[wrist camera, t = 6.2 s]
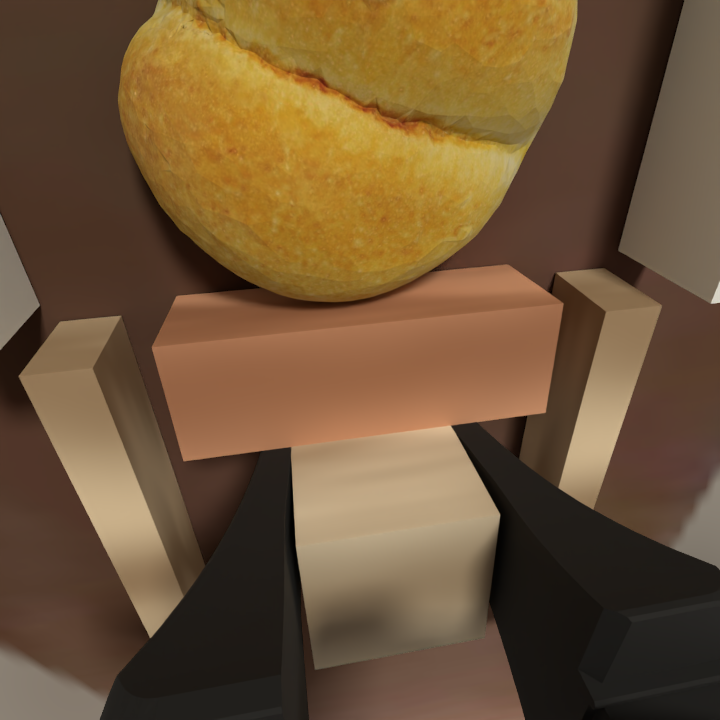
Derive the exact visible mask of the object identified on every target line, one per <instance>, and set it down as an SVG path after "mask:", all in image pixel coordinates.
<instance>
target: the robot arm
mask: <svg viewBox="0 0 720 720" xmlns="http://www.w3.org/2000/svg"><path fill="white" fill-rule="evenodd" d="M451 427H452V429H453V430H454V431H455V433H456V435H457V437H458V439H459V440H460V442H461V444H462V446H463V448H464V449H465V451H466V453H467V455H468V457H469V459H470V460H471V462H472V464H473V466H474V468H475V470H476V471H477V473H478V475H479V477H480V479H481V480H482V482H483V484H484V486H485V488H486V490H487V491H488V493H489V495H490V497H491V499H492V500H493V502H494V504H495V506H496V508H497V510H498V511H499V513H500V521H499V528H498V536H497V544H496V552H495V560H494V568H493V575H492V583H491V591H490V599H489V602H490V605H491V608H492V611H493V614H494V617H495V620H496V624H497V627H498V630H499V633H500V636H501V639H502V642H503V646H504V649H505V652H506V655H507V658H508V662H509V665H510V668H511V672H512V675H513V679H514V682H515V685H516V689H517V692H518V695H519V699H520V702H521V706H522V710H523V713H524V717H525V720H720V570H719V569H718V568H717V567H716V566H714V565H712V564H709V563H707V562H704V561H702V560H699V559H697V558H694V557H692V556H689V555H687V554H684V553H682V552H679V551H677V550H674V549H672V548H669V547H667V546H665V545H662V544H660V543H658V542H656V541H654V540H652V539H649V538H647V537H645V536H643V535H641V534H639V533H636V532H634V531H632V530H630V529H628V528H626V527H624V526H622V525H620V524H618V523H617V522H615V521H613V520H611V519H609V518H607V517H606V516H604V515H602V514H600V513H598V512H596V511H595V510H593V509H591V508H589V507H588V506H586V505H584V504H583V503H581V502H579V501H578V500H576V499H575V498H573V497H571V496H570V495H568V494H567V493H565V492H564V491H562V490H561V489H559V488H557V487H556V486H554V485H553V484H552V483H550V482H549V481H547V480H546V479H544V478H543V477H542V476H540V475H539V474H538V473H536V472H535V471H534V470H532V469H531V468H530V467H528V466H527V465H526V464H524V463H523V462H522V461H521V460H519V459H518V458H517V457H516V456H515V455H513V454H512V453H511V452H510V451H509V450H507V449H506V448H505V447H504V446H503V445H501V444H500V443H499V442H498V441H497V440H496V439H495V438H493V437H492V436H491V435H490V434H489V433H488V432H487V431H486V430H484V429H483V428H482V427H481V426H480V425H479V424H478V423H477V422H473V423H466V424H458V425H451ZM100 720H309V715H308V703H307V690H306V677H305V664H304V651H303V637H302V623H301V577H300V570H299V564H298V557H297V551H296V539H295V520H294V501H293V482H292V463H291V447H287V448H279V449H272V450H264V451H261V452H260V456H259V459H258V462H257V465H256V467H255V470H254V473H253V475H252V478H251V480H250V483H249V485H248V487H247V490H246V492H245V495H244V497H243V499H242V501H241V503H240V505H239V507H238V509H237V511H236V513H235V515H234V517H233V519H232V521H231V523H230V525H229V527H228V529H227V531H226V533H225V534H224V536H223V538H222V540H221V541H220V543H219V545H218V546H217V548H216V550H215V551H214V553H213V555H212V556H211V558H210V560H209V561H208V563H207V564H206V566H205V567H204V569H203V570H202V572H201V573H200V575H199V576H198V578H197V579H196V581H195V582H194V583H193V585H192V586H191V588H190V589H189V590H188V592H187V593H186V595H185V596H184V597H183V598H182V600H181V601H180V602H179V604H178V605H177V606H176V607H175V609H174V610H173V611H172V612H171V614H170V615H169V616H168V618H167V619H166V620H165V621H164V623H163V624H162V625H161V627H160V628H159V629H158V630H157V631H156V632H155V634H154V635H153V636H152V637H151V638H150V639H149V641H148V642H147V643H146V644H145V645H144V646H143V647H142V648H141V649H140V651H139V652H138V653H137V654H136V655H135V656H134V657H133V658H132V660H131V661H130V662H129V663H128V664H127V665H126V666H125V667H124V668H123V670H122V671H121V672H120V673H119V674H118V675H117V677H116V679H115V681H114V683H113V686H112V688H111V691H110V693H109V696H108V698H107V701H106V704H105V707H104V710H103V712H102V715H101V717H100Z"/></svg>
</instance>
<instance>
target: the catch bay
mask: <svg viewBox="0 0 720 720" xmlns="http://www.w3.org/2000/svg"><path fill="white" fill-rule="evenodd" d="M618 251H620V252H621V253H623V254H625V255H627V256H628V257H630V258H632V259H634V260H635V261H637V262H639V263H641V264H642V265H644V266H646V267H647V268H649V269H651V270H653V271H654V272H656V273H658V274H660V275H661V276H663V277H665V278H667V279H668V280H670V281H672V282H674V283H675V284H677V285H679V286H681V287H682V288H684V289H686V290H688V291H689V292H691V293H693V294H695V295H696V296H698V297H700V298H702V299H703V300H705V301H707V302H709V303H710V304H712V303H720V0H684V4H683V8H682V11H681V15H680V19H679V23H678V27H677V30H676V34H675V38H674V42H673V45H672V49H671V53H670V57H669V60H668V64H667V68H666V72H665V76H664V79H663V83H662V87H661V91H660V94H659V98H658V102H657V106H656V109H655V113H654V117H653V121H652V124H651V128H650V132H649V136H648V140H647V143H646V147H645V151H644V155H643V158H642V162H641V166H640V170H639V173H638V177H637V181H636V185H635V189H634V192H633V196H632V200H631V204H630V207H629V211H628V215H627V219H626V222H625V226H624V230H623V234H622V238H621V241H620V245H619V249H618ZM39 306H40V304H39V302H38V300H37V297H36V295H35V293H34V290H33V288H32V286H31V283H30V281H29V279H28V276H27V274H26V272H25V270H24V267H23V265H22V263H21V260H20V258H19V256H18V253H17V251H16V249H15V246H14V244H13V242H12V239H11V237H10V235H9V233H8V230H7V228H6V226H5V223H4V221H3V219H2V216H1V214H0V350H1V349H2V348H3V346H4V345H5V344H6V343H7V342H8V341H9V340H10V339H11V337H12V336H13V335H14V334H15V333H16V332H17V331H18V330H19V328H20V327H21V326H22V325H23V324H24V323H25V322H26V320H27V319H28V318H29V317H30V316H31V315H32V314H33V313H34V311H35V310H36V309H37V308H38V307H39Z"/></svg>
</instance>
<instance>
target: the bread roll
mask: <svg viewBox="0 0 720 720" xmlns="http://www.w3.org/2000/svg"><path fill="white" fill-rule="evenodd" d="M576 22H577V0H158V3H157V6H156V9H155V13H154V15H153V16H152V17H151V18H150V19H149V20H148V21H147V22H146V23H145V24H143V25H142V26H141V27H140V29H139V30H138V31H137V33H136V34H135V36H134V37H133V39H132V40H131V42H130V44H129V46H128V49H127V51H126V53H125V56H124V59H123V63H122V67H121V78H120V86H119V93H118V105H119V112H120V118H121V123H122V126H123V130H124V133H125V137H126V140H127V143H128V146H129V148H130V150H131V153H132V155H133V157H134V159H135V161H136V163H137V165H138V167H139V169H140V171H141V173H142V175H143V177H144V179H145V180H146V182H147V184H148V185H149V187H150V189H151V191H152V192H153V194H154V196H155V198H156V199H157V201H158V203H159V205H160V206H161V207H162V208H163V210H164V211H165V212H166V213H167V214H168V215H169V217H170V218H171V219H172V220H173V222H174V223H175V224H176V225H177V227H178V228H179V229H180V231H182V232H183V233H184V234H186V235H187V236H188V237H190V238H191V239H192V240H193V241H194V242H195V243H196V244H197V245H198V246H199V247H200V248H201V249H203V250H204V251H205V252H206V253H207V254H209V255H210V256H211V257H212V258H214V259H215V260H216V261H217V262H219V263H220V264H221V265H222V266H224V267H225V268H227V269H228V270H230V271H231V272H233V273H234V274H236V275H238V276H239V277H241V278H243V279H245V280H247V281H248V282H250V283H253V284H255V285H257V286H259V287H262V288H264V289H267V290H269V291H271V292H274V293H276V294H279V295H282V296H286V297H290V298H294V299H299V300H307V301H318V302H345V301H354V300H359V299H365V298H370V297H374V296H377V295H380V294H383V293H386V292H389V291H392V290H394V289H396V288H398V287H401V286H403V285H405V284H407V283H409V282H411V281H413V280H415V279H417V278H418V277H420V276H422V275H424V274H425V273H427V272H429V271H431V270H432V269H434V268H435V267H437V266H438V265H440V264H441V263H443V262H444V261H445V260H447V259H448V258H449V257H450V256H452V255H453V254H454V253H456V252H457V251H458V250H460V249H461V248H462V247H464V246H465V245H466V244H467V243H468V242H469V241H470V240H472V239H473V238H474V237H475V236H476V235H477V234H478V233H479V231H480V230H481V229H482V228H483V226H484V225H485V224H486V222H487V221H488V220H489V218H490V217H491V216H492V214H493V213H494V212H495V211H496V209H497V208H498V207H499V205H500V204H501V202H502V200H503V198H504V196H505V194H506V192H507V190H508V188H509V186H510V184H511V182H512V180H513V178H514V176H515V174H516V173H517V171H518V168H519V166H520V164H521V162H522V160H523V158H524V156H525V153H526V152H527V150H528V148H529V146H530V144H531V143H532V141H533V139H534V137H535V135H536V133H537V132H538V130H539V128H540V126H541V124H542V123H543V121H544V119H545V117H546V116H547V114H548V112H549V110H550V108H551V106H552V104H553V101H554V99H555V96H556V94H557V92H558V90H559V88H560V86H561V83H562V81H563V79H564V75H565V70H566V65H567V61H568V57H569V53H570V48H571V44H572V40H573V35H574V31H575V26H576Z"/></svg>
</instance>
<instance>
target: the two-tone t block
mask: <svg viewBox="0 0 720 720" xmlns="http://www.w3.org/2000/svg"><path fill="white" fill-rule="evenodd" d="M563 305H564V303H562V302H561V301H560V300H558V299H557V298H555V297H554V296H552V295H551V294H550V293H548V292H547V291H545V290H544V289H542V288H541V287H540V286H538V285H537V284H535V283H534V282H532V281H531V280H529V279H528V278H527V277H525V276H524V275H522V274H521V273H519V272H518V271H517V270H515V269H514V268H512V267H511V266H509V265H508V264H507V265H497V266H486V267H476V268H465V269H455V270H444V271H434V272H427V273H425V274H424V275H422V276H420V277H418V278H417V279H415V280H413V281H411V282H409V283H407V284H405V285H403V286H401V287H398V288H396V289H394V290H392V291H389V292H386V293H383V294H380V295H377V296H374V297H370V298H365V299H359V300H354V301H345V302H318V301H307V300H299V299H294V298H290V297H286V296H282V295H279V294H276V293H274V292H271V291H269V290H267V289H264V288H255V289H245V290H235V291H224V292H214V293H203V294H193V295H182V296H177V297H176V299H175V301H174V303H173V305H172V307H171V309H170V311H169V313H168V315H167V317H166V319H165V321H164V323H163V325H162V327H161V329H160V331H159V334H158V336H157V338H156V340H155V342H154V344H153V346H152V350H153V354H154V357H155V361H156V364H157V368H158V372H159V375H160V379H161V382H162V386H163V389H164V393H165V397H166V400H167V404H168V407H169V411H170V414H171V418H172V422H173V425H174V429H175V432H176V436H177V439H178V443H179V447H180V450H181V454H182V457H183V461H190V460H197V459H205V458H212V457H220V456H227V455H235V454H242V453H250V452H257V451H264V450H272V449H279V448H287V447H291V463H292V482H293V501H294V520H295V539H296V551H297V557H298V564H299V570H300V577H301V583H302V589H303V596H304V602H305V609H306V615H307V622H308V628H309V635H310V641H311V648H312V654H313V660H314V667H315V670H317V669H323V668H328V667H333V666H339V665H344V664H349V663H354V662H360V661H365V660H370V659H376V658H381V657H386V656H392V655H397V654H402V653H407V652H413V651H418V650H423V649H429V648H434V647H439V646H445V645H450V644H455V643H460V642H466V641H471V640H476V639H482V638H485V630H486V622H487V614H488V607H489V599H490V591H491V583H492V575H493V568H494V560H495V552H496V544H497V536H498V528H499V521H500V513H499V511H498V510H497V508H496V506H495V504H494V502H493V500H492V499H491V497H490V495H489V493H488V491H487V490H486V488H485V486H484V484H483V482H482V480H481V479H480V477H479V475H478V473H477V471H476V470H475V468H474V466H473V464H472V462H471V460H470V459H469V457H468V455H467V453H466V451H465V449H464V448H463V446H462V444H461V442H460V440H459V439H458V437H457V435H456V433H455V431H454V430H453V429H452V427H451V425H458V424H466V423H473V422H481V421H488V420H496V419H503V418H511V417H518V416H525V415H533V414H540V413H546V407H547V401H548V395H549V389H550V383H551V377H552V371H553V365H554V359H555V353H556V347H557V341H558V335H559V329H560V323H561V317H562V311H563Z"/></svg>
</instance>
